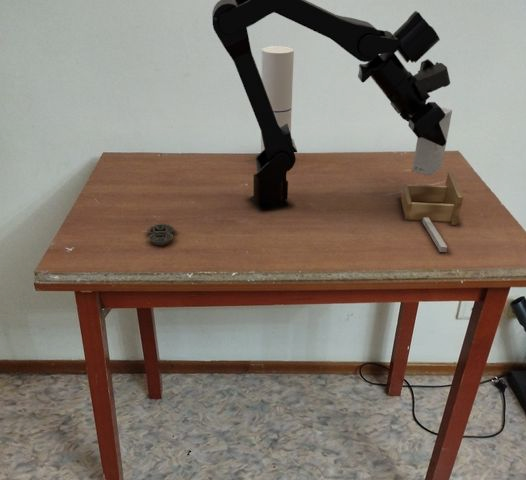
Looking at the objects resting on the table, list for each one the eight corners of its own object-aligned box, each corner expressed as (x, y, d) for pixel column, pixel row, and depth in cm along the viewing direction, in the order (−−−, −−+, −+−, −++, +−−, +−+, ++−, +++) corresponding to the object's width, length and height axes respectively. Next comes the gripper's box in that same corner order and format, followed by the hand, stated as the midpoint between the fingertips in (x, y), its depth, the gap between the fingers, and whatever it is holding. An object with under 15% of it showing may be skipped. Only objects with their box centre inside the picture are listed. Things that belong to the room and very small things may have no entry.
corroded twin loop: (147, 247, 111) (147, 243, 110) (148, 228, 117) (147, 223, 116) (174, 246, 111) (174, 241, 111) (174, 227, 118) (173, 222, 117)
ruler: (446, 251, 111) (447, 247, 110) (440, 252, 111) (441, 247, 110) (427, 221, 120) (428, 217, 120) (422, 221, 120) (423, 217, 120)
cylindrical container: (286, 166, 144) (291, 54, 128) (258, 164, 145) (258, 52, 129) (291, 156, 149) (296, 47, 134) (264, 153, 150) (265, 45, 135)
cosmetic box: (430, 176, 122) (442, 116, 115) (410, 171, 124) (420, 112, 117) (442, 168, 126) (454, 109, 119) (422, 163, 128) (433, 105, 121)
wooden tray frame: (406, 222, 120) (410, 194, 117) (400, 196, 131) (404, 169, 127) (456, 225, 120) (463, 197, 116) (447, 198, 130) (452, 172, 126)
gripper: (445, 60, 103) (490, 124, 111) (415, 38, 118) (457, 96, 125) (393, 107, 108) (440, 166, 115) (371, 80, 122) (414, 134, 130)
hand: (438, 138), depth 121 cm, fingers closed on cosmetic box, 7 cm apart
